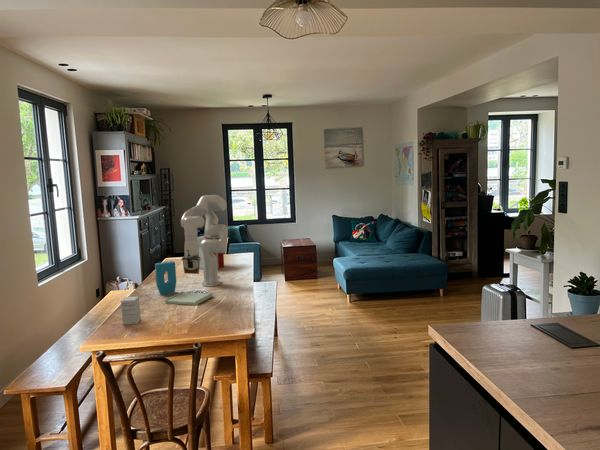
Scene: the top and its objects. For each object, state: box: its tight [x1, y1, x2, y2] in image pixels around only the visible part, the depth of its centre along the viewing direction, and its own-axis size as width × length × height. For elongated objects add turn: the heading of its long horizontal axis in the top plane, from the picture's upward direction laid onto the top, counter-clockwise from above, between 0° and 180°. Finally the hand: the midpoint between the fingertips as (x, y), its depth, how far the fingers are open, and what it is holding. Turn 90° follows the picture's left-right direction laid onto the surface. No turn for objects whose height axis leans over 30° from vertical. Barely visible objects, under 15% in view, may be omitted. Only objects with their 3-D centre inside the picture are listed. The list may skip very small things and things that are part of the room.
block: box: [154, 261, 177, 296], centre depth 284 cm, size 12×5×20 cm, turn 123°
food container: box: [181, 256, 201, 275], centre depth 271 cm, size 12×6×10 cm, turn 73°
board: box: [164, 291, 213, 306], centre depth 268 cm, size 19×21×2 cm
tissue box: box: [198, 235, 225, 271], centre depth 360 cm, size 16×18×27 cm
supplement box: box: [120, 295, 141, 325], centre depth 229 cm, size 7×7×13 cm
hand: (193, 266), depth 271 cm, fingers closed on food container, 6 cm apart
